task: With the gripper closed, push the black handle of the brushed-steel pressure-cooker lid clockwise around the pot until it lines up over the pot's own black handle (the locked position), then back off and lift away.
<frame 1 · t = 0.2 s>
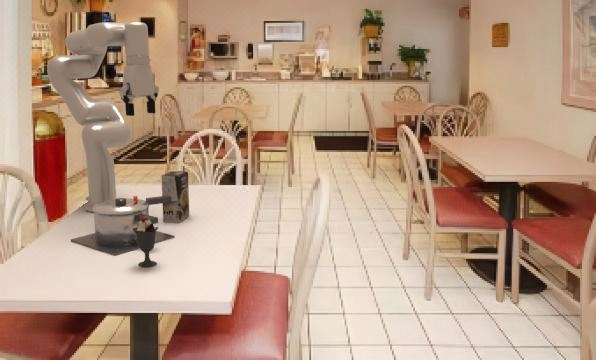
hand: (141, 114, 205), 36 cm above the table, tool pointing down, fingers open, 9 cm apart
coffee box: (176, 219, 214), on the table
lid: (132, 201, 190), point 12 cm above the table, hinge at 68.0°
cooker: (123, 239, 190), on the table
sundae: (147, 265, 168), on the table
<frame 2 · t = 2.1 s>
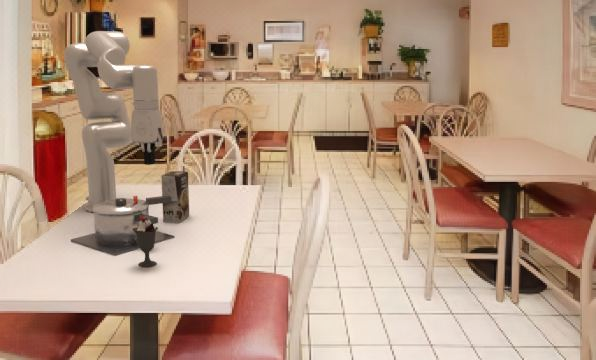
hand: (149, 163, 196), 22 cm above the table, tool pointing down, fingers closed
nothing on the table moved.
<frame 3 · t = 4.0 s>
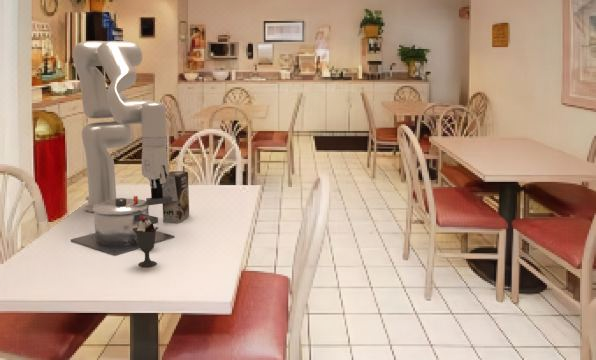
hand: (157, 199, 196), 11 cm above the table, tool pointing down, fingers closed
lid: (133, 201, 190), point 12 cm above the table, hinge at 65.6°, touching gripper
everything else where it was.
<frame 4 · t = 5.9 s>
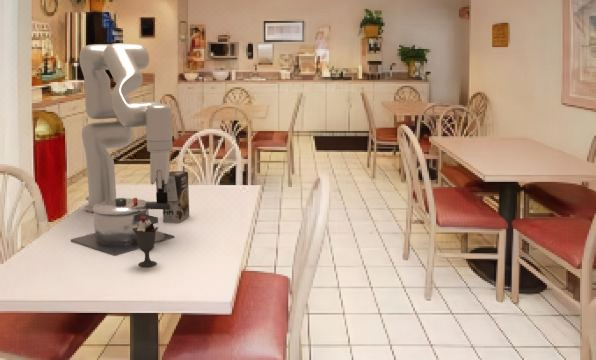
hand: (162, 204, 190), 11 cm above the table, tool pointing down, fingers closed
lid: (132, 203, 188), point 12 cm above the table, hinge at 33.1°, touching gripper
everything else where it was.
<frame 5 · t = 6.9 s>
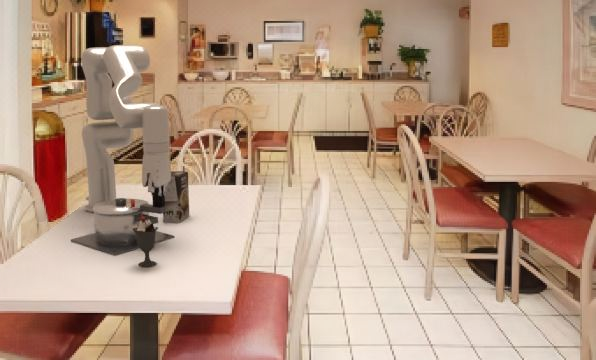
hand: (159, 208, 186), 11 cm above the table, tool pointing down, fingers closed
lid: (130, 204, 187), point 12 cm above the table, hinge at 13.2°, touching gripper
everything else where it was.
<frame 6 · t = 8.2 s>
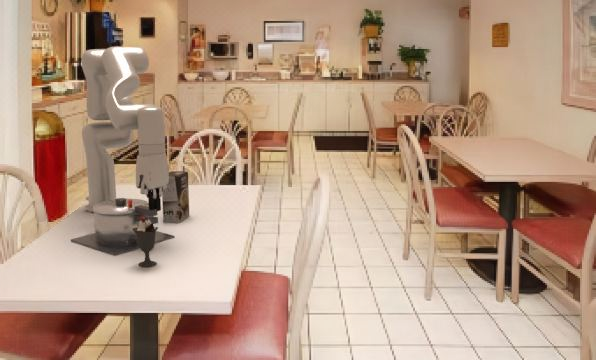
hand: (154, 210, 183), 11 cm above the table, tool pointing down, fingers closed
lid: (128, 204, 186), point 12 cm above the table, hinge at 0.1°
everything else where it was.
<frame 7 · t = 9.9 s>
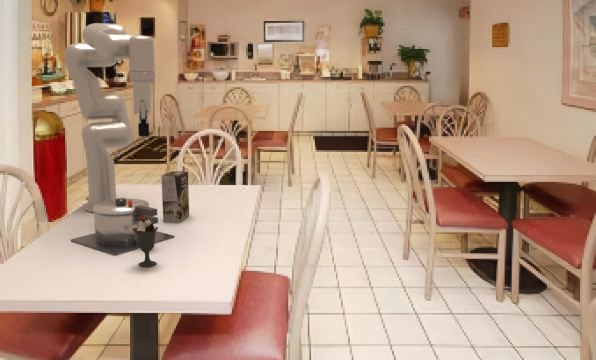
hand: (144, 135, 195), 31 cm above the table, tool pointing down, fingers closed
nothing on the table moved.
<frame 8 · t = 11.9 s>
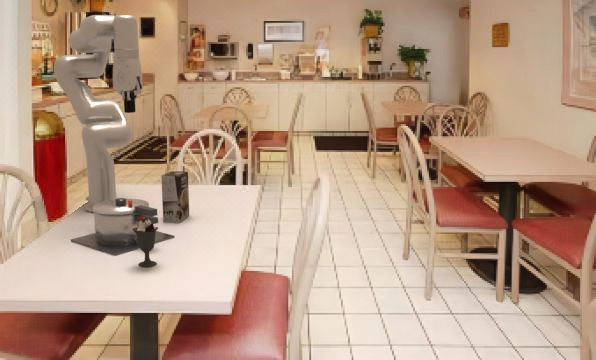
hand: (130, 112, 202), 37 cm above the table, tool pointing down, fingers closed
nothing on the table moved.
at the end: lid at +0° (first picture: +68°); lid touching nothing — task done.
